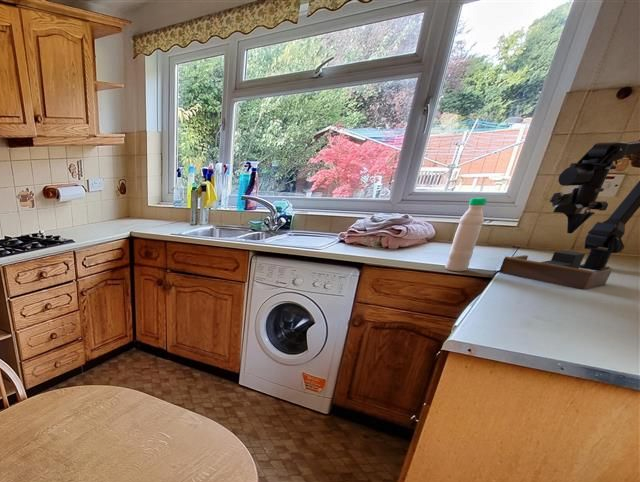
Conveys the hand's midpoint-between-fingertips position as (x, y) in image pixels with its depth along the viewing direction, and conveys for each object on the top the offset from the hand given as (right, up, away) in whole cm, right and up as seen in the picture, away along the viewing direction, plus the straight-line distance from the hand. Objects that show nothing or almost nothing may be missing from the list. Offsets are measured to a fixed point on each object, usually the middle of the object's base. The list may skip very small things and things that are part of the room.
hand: (569, 233), depth 152 cm
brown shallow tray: (-10, -17, -3) cm, 20 cm away
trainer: (-9, -16, -2) cm, 19 cm away
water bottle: (-32, -10, +11) cm, 36 cm away
